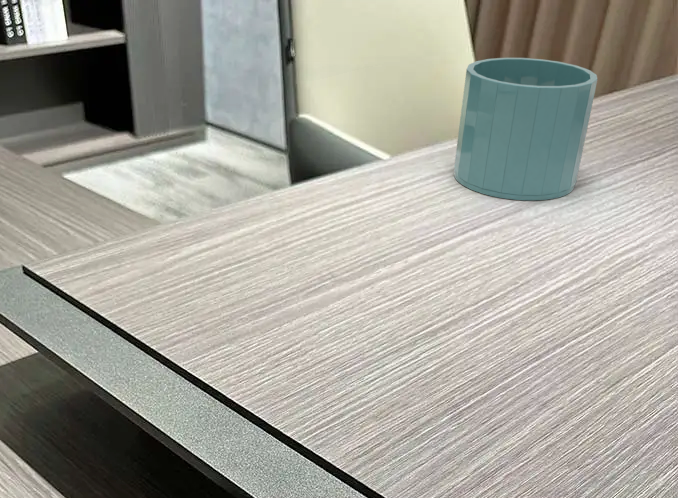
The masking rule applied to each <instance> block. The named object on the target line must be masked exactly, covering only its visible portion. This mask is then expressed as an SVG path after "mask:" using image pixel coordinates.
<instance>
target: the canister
mask: <svg viewBox="0 0 678 498" xmlns="http://www.w3.org/2000/svg"><path fill="white" fill-rule="evenodd" d="M597 84H598V75H597V74H596V73H595V72H593V71H592V70H590V69H588V68H586V67H582V66H579V65H577V64H572V63H567V62H562V61H557V60H549V59H542V58H529V57H497V58H496V57H495V58H494V57H493V58H487V59H480V60H476V61H473V62H471V63H469V64H468V65H467V68H466V71H465V79H464V86H463V93H462V103H461V110H460V117H459V118H460V119H459V125H458V126H459V127H458V133H457V141H456V142H457V143H456V150H455V158H454V164H453V165H454V166H453V176H454V179H455V180H456V181H457V182H458V183H459V184H460V185H462V186H463V187H465V188H467V189H469V190H471V191H473V192H476V193H480V194H483V195H485V196H486V195H487V196H490V197H494V198H498V199H499V198H500V199H506V200H516V201H546V200H547V201H548V200H553V199H558V198H561V197H565V196H567V195H568V194H570V193H572V192H573V191H574V190H575V188H576V187H575V186H576V184H577V180H578V177H579V176H578V174H579V170H580V166H581V161H582V157H583V152H584V147H585V141H586V136H587V133H588V127H589V122H590V118H591V112H592V108H593V103H594V99H595V93H596V89H597Z"/></svg>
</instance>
